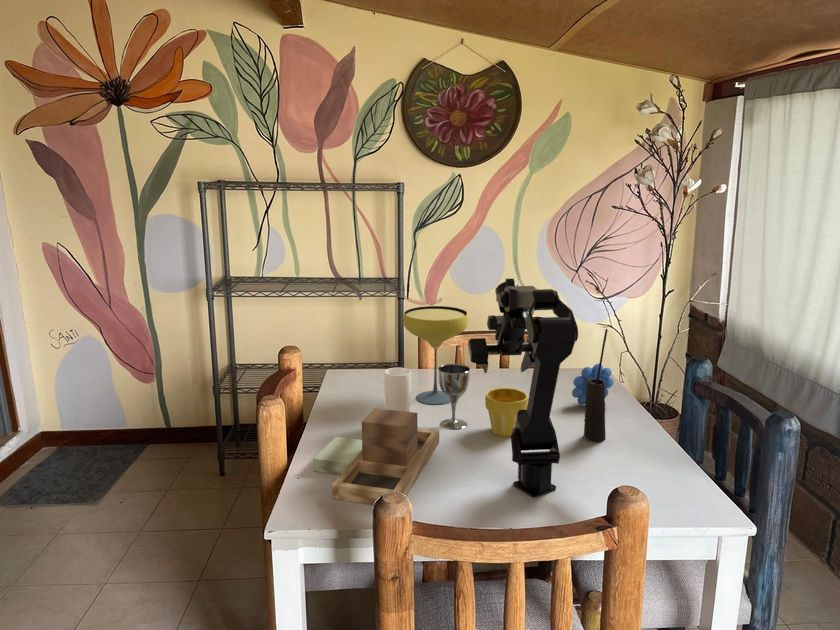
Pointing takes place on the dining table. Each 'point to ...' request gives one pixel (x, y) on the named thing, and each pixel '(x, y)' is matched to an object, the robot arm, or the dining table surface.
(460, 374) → the wine glass
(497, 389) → the plant pot
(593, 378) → the grapes
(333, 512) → the dining table surface
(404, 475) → the tray
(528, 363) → the robot arm
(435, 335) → the cocktail glass
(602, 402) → the butter churn
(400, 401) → the drinking glass
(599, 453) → the dining table surface
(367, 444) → the walnut block
